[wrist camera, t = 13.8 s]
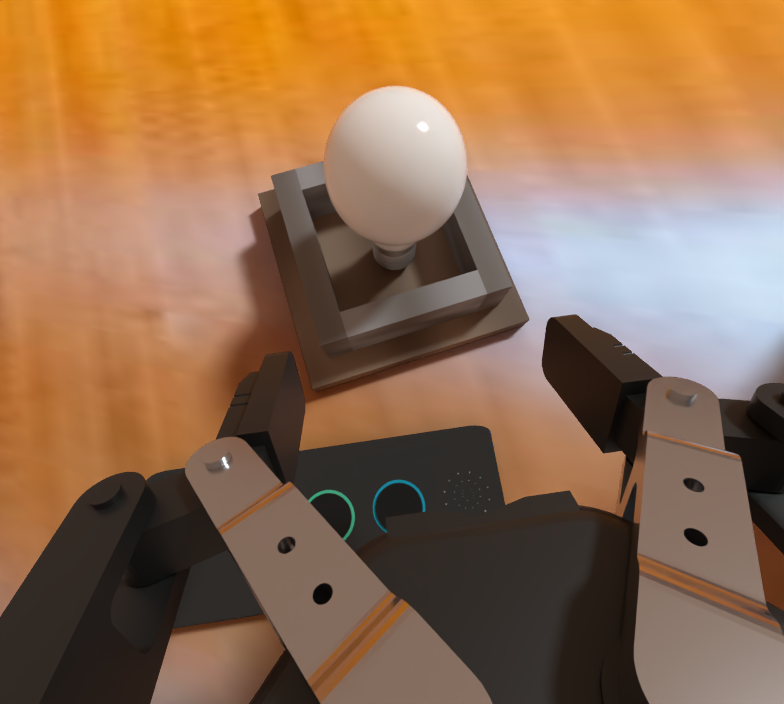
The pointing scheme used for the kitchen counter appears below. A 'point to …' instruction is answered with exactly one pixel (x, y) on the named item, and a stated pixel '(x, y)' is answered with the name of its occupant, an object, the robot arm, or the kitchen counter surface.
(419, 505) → the smart home device
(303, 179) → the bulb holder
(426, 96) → the lightbulb
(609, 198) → the kitchen counter surface
